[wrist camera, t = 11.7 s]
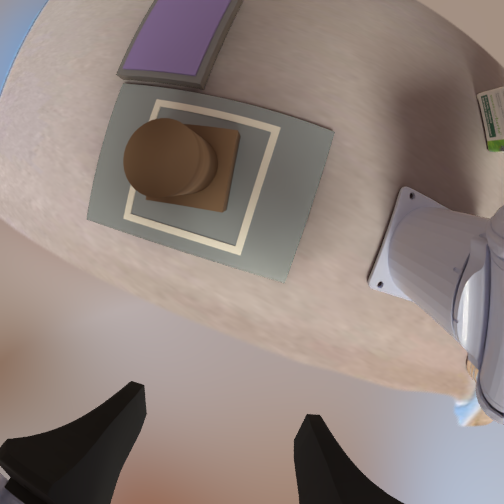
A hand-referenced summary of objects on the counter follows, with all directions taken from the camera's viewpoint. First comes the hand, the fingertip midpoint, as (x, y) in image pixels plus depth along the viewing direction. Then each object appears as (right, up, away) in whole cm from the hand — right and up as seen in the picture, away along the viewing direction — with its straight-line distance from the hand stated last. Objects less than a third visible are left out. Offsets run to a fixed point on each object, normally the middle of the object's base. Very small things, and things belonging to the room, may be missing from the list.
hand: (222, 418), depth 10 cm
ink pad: (-4, +24, +5) cm, 25 cm away
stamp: (-2, +13, +7) cm, 15 cm away
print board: (-2, +13, +8) cm, 15 cm away
